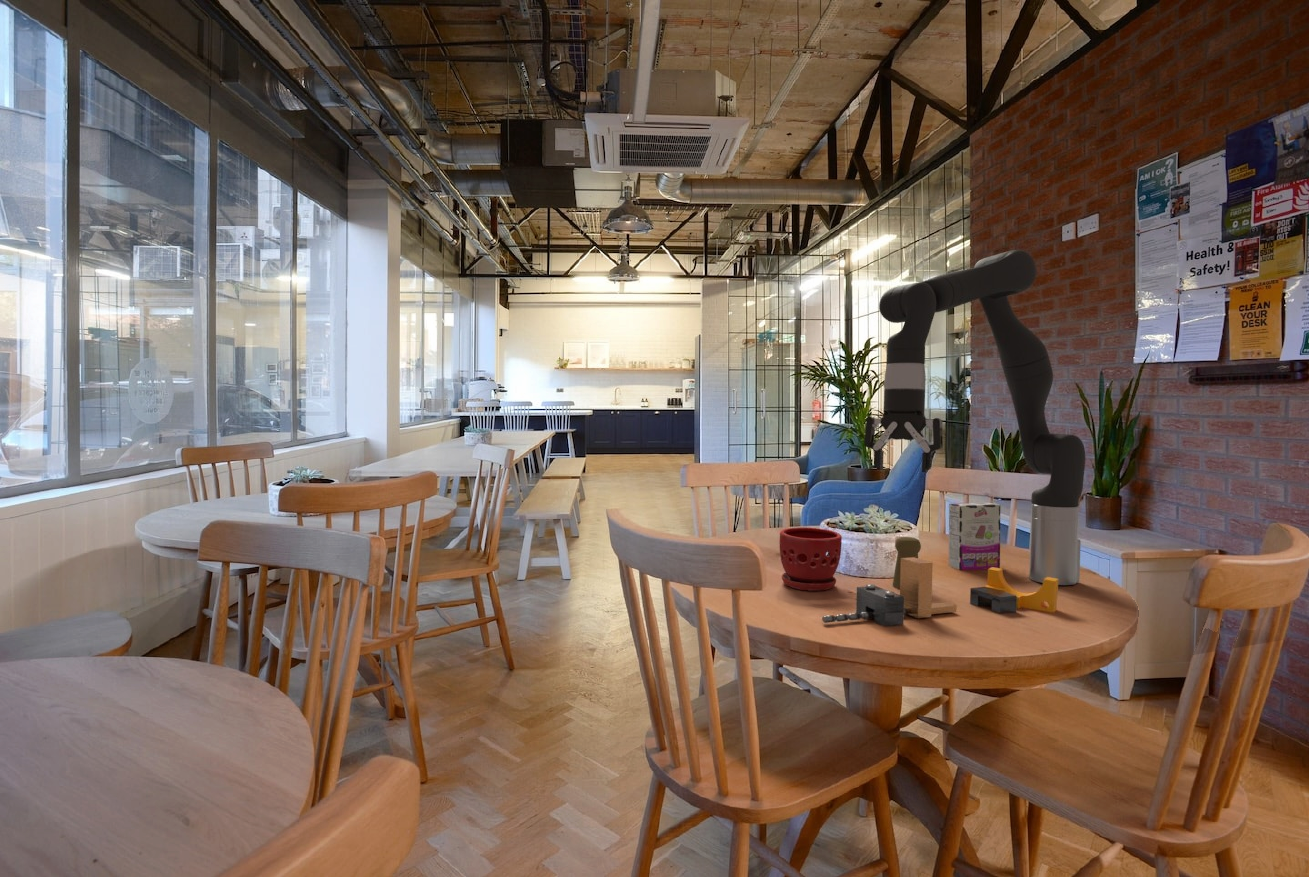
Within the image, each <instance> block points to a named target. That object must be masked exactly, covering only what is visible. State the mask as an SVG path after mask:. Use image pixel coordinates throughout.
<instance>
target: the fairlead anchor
mask: <svg viewBox="0 0 1309 877" xmlns="http://www.w3.org/2000/svg"><path fill="white" fill-rule="evenodd" d="M855 606H856V608H855V610H856V611H855V613H862V612H872V613H873V612H874V611H875V618H874V623H876V624H878V625H880V626H883V627H892V626H900V625H902V626H903V625H904V617H905V615H904V596H901V595H900V593H899V594H898V593H896V592H895V591H891V590H887V589H885V588H881V587H880V586H876V585H875V584H872V583H866V584H865V586H856V605H855Z"/></svg>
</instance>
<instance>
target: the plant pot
mask: <svg viewBox="0 0 1309 877" xmlns="http://www.w3.org/2000/svg"><path fill="white" fill-rule="evenodd" d="M779 554H780V562H781V566H782V568H783V570H784V573H783V574H782V575H781V580H782V582H783V583H784V584H785V585H787V586H788V587H790V588H793V589H796V590H800V591H806V590H808V591H809V592H817V591H819V592H820V591H821V590H822V591H827V590H830V589H832V588H833V587H834V586H835V585H836V583H837V578H836V577H835V576H834V575H835V574H836V572H837V569H838V567H839V563H840V559H841V554H842V534H840V532H837V531H834V530H829V529H826V528H817V527H805V526H804V527H789V528H785V529H782V530H780V532H779Z"/></svg>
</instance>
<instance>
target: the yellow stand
mask: <svg viewBox="0 0 1309 877" xmlns="http://www.w3.org/2000/svg"><path fill="white" fill-rule="evenodd" d="M1003 572H1004V571H1003V568H1001V567H1000V568H995V567H991V568H989V569H987V581H986V582H987V583H986V585H984V586H983V587H988V588H992V589H996V590H999V591H1002V592H1006V593H1009V594H1013V595H1016V596H1017V606H1016V610H1017V609H1018V610H1019V609H1020V608H1025V609H1031V610H1035V611H1041V612H1046V613H1052V614H1054V613H1055V612H1056V611H1057V610H1058V609H1057V607H1058V606H1057V605H1058V592H1059V585H1058V580H1059V579H1056V578H1051V577H1046V578H1045V579H1044V581H1043V583H1042V584H1041V587H1040V588H1039V589H1038V591H1035V592H1030V593H1028V592H1021V591H1018V590H1016V589H1015V588H1014V587H1013V586H1011V585H1010V584H1009V583H1008V581H1006V579H1005V577H1004V576H1005V575H1004V573H1003ZM1046 603H1047V604H1048V605H1047V604H1046Z"/></svg>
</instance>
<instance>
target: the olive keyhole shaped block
mask: <svg viewBox="0 0 1309 877" xmlns="http://www.w3.org/2000/svg"><path fill="white" fill-rule="evenodd" d="M894 547H895V550H896V552H897V555H896V561H895V568H894V574H893V579H892V587H893V588H895V589H897V590H900V568H901V558H911V557H914V558H918V559H919V553H920V551H921V548H922V545H921V541H920V540H919V539H918V538H915V537H911V536H901V537H898V538H897V539H896V540H895V544H894Z"/></svg>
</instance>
